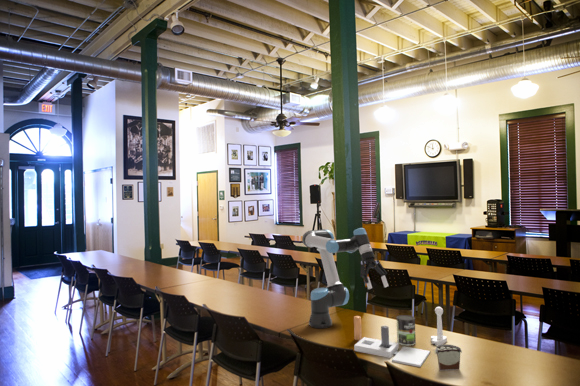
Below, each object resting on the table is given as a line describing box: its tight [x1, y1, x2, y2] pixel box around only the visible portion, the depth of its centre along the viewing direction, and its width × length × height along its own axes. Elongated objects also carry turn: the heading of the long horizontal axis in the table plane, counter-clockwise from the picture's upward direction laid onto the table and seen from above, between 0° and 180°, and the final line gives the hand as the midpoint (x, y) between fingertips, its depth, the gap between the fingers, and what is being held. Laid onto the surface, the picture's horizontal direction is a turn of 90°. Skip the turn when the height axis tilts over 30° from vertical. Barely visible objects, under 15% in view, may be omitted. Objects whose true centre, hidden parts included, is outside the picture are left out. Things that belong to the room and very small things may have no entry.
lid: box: [391, 345, 431, 368], centre depth 200 cm, size 16×20×1 cm
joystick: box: [430, 306, 448, 347], centre depth 219 cm, size 11×8×20 cm
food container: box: [434, 343, 463, 372], centre depth 186 cm, size 12×6×10 cm, turn 92°
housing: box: [353, 336, 400, 359], centre depth 211 cm, size 20×14×3 cm
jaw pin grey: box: [380, 325, 390, 348], centre depth 208 cm, size 4×4×13 cm
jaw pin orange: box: [353, 315, 363, 342], centre depth 227 cm, size 4×4×13 cm
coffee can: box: [395, 314, 417, 347], centre depth 220 cm, size 10×10×14 cm
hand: (378, 287), depth 221 cm, fingers open, 13 cm apart
